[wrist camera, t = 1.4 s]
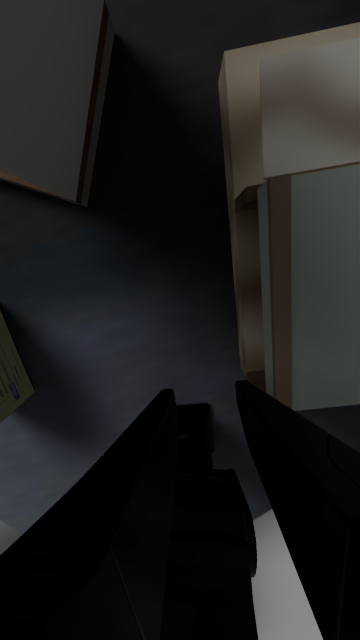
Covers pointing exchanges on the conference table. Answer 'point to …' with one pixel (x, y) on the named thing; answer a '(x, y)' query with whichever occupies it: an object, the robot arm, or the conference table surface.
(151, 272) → the conference table surface
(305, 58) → the cardboard tray
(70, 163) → the tall white pillar
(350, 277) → the lid
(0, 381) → the box
